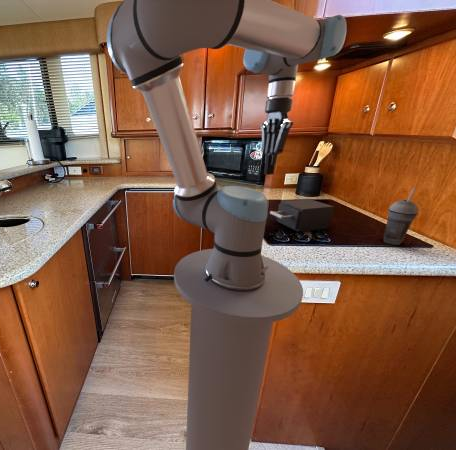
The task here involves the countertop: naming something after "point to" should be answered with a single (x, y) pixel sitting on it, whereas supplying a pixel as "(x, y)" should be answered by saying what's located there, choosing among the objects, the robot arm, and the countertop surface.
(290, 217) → the basket
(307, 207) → the dark brown box
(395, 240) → the beverage cup
